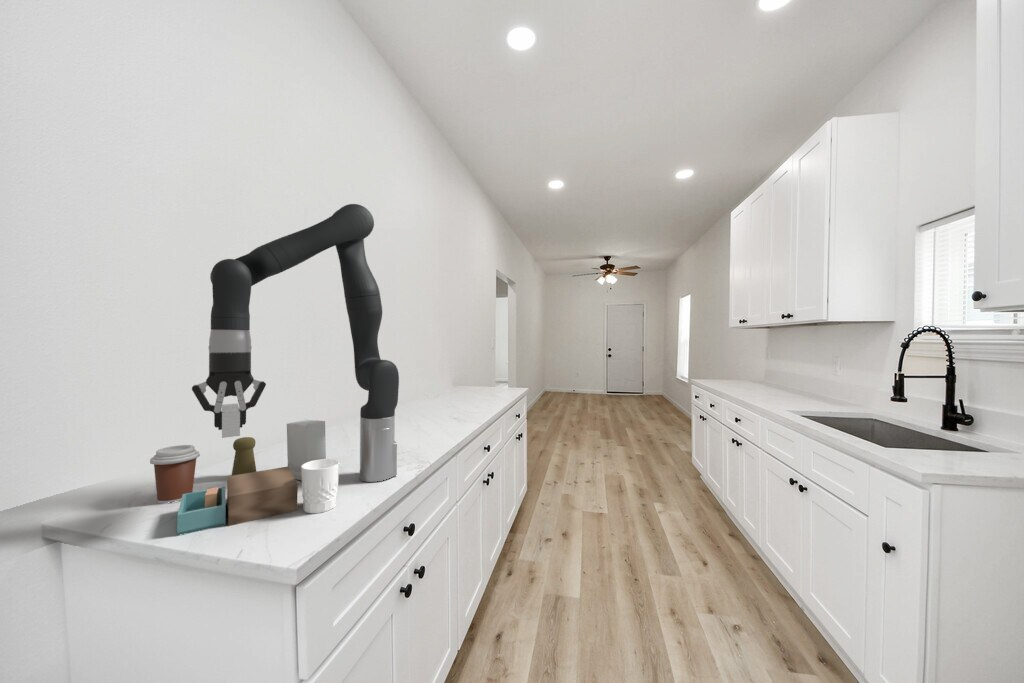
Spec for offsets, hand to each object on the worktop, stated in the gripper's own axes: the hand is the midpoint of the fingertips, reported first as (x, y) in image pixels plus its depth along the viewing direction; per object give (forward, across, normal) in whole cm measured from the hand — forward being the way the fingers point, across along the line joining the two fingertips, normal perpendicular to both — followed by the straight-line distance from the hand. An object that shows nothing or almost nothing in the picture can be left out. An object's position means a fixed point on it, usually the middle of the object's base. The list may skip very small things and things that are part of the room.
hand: (230, 427), depth 85 cm
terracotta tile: (+16, +2, -3) cm, 17 cm away
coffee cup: (+19, +10, -17) cm, 28 cm away
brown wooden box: (+19, -6, 0) cm, 20 cm away
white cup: (+19, -17, +9) cm, 27 cm away
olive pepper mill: (+19, -4, -25) cm, 32 cm away
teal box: (+19, +5, 0) cm, 19 cm away
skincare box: (+19, -18, -15) cm, 30 cm away
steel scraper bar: (+1, 0, 0) cm, 1 cm away
